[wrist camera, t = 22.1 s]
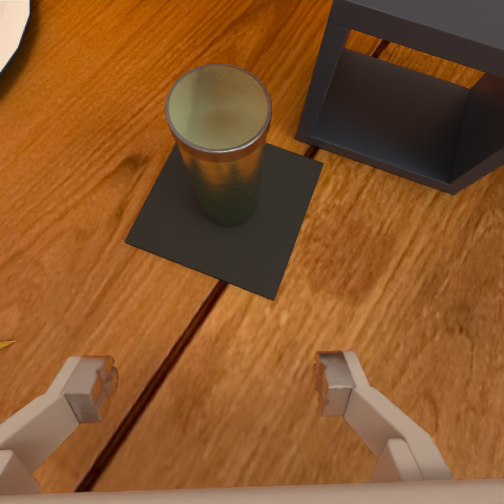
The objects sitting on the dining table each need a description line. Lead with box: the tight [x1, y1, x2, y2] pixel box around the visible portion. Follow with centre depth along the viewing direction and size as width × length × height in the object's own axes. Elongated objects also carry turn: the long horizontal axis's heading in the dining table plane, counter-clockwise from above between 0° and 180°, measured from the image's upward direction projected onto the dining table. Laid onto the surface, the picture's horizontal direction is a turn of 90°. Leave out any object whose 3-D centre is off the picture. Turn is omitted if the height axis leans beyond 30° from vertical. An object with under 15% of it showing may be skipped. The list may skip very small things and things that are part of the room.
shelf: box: [295, 0, 504, 195], centre depth 20 cm, size 14×10×11 cm
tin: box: [165, 64, 272, 227], centre depth 18 cm, size 5×5×10 cm
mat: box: [125, 142, 323, 300], centre depth 23 cm, size 12×12×1 cm
